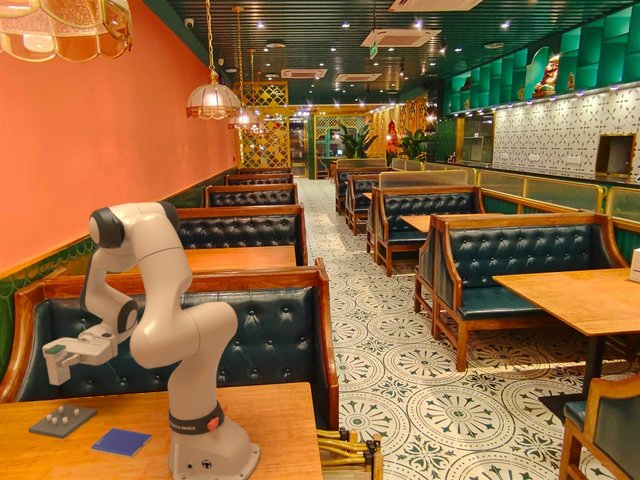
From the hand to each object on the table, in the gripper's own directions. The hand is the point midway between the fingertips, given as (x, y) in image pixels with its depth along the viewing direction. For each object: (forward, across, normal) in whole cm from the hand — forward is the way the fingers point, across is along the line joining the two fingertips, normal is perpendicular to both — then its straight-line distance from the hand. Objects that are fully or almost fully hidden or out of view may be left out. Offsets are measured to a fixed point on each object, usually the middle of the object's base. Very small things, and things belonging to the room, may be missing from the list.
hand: (54, 364), depth 118 cm
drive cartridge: (-1, 0, +6) cm, 6 cm away
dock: (-1, -1, +18) cm, 19 cm away
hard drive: (+3, +22, +19) cm, 29 cm away
